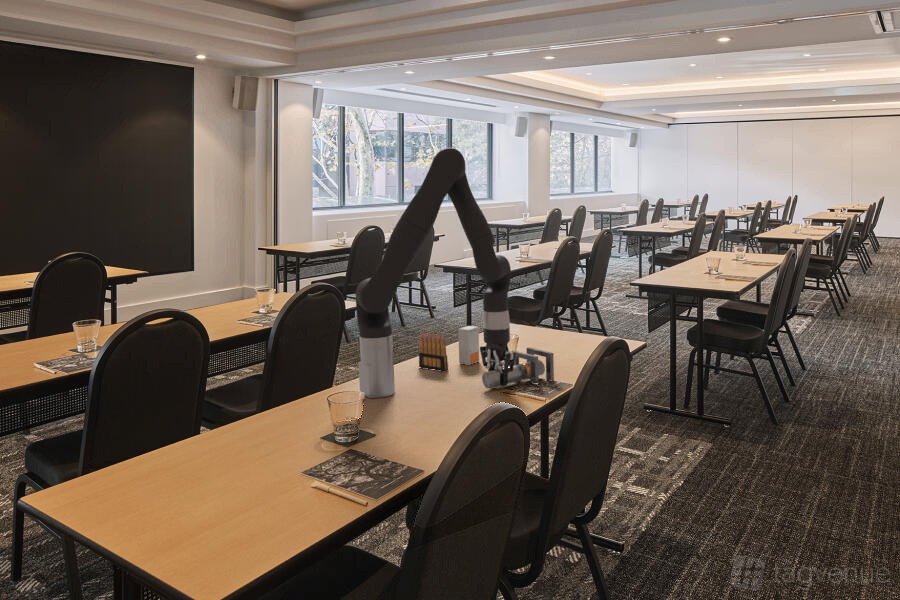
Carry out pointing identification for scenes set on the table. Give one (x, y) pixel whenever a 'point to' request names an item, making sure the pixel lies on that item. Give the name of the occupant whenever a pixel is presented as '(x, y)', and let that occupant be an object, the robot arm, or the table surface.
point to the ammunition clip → (433, 352)
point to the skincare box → (468, 345)
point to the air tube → (511, 374)
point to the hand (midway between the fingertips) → (498, 383)
